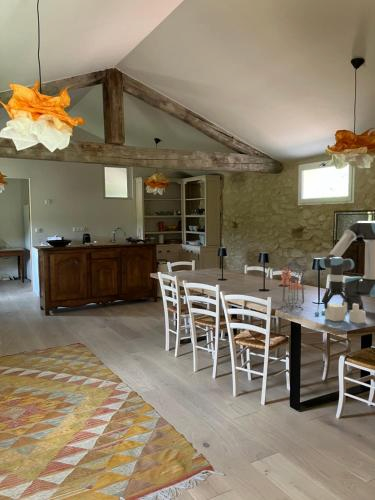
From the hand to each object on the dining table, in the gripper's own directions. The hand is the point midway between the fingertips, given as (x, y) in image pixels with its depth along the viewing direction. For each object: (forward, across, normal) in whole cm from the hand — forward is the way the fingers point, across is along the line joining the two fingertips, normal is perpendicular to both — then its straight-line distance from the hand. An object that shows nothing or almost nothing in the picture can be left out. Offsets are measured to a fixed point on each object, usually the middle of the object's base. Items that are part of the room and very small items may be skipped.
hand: (336, 312), depth 258 cm
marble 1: (+2, +6, -13) cm, 15 cm away
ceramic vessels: (+6, -30, -118) cm, 122 cm away
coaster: (+5, 0, 0) cm, 5 cm away
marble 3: (+5, -15, -11) cm, 20 cm away
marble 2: (+3, -2, -15) cm, 15 cm away
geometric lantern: (+5, +9, -42) cm, 43 cm away
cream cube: (+4, 0, -1) cm, 4 cm away
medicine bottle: (+5, -11, +7) cm, 14 cm away
